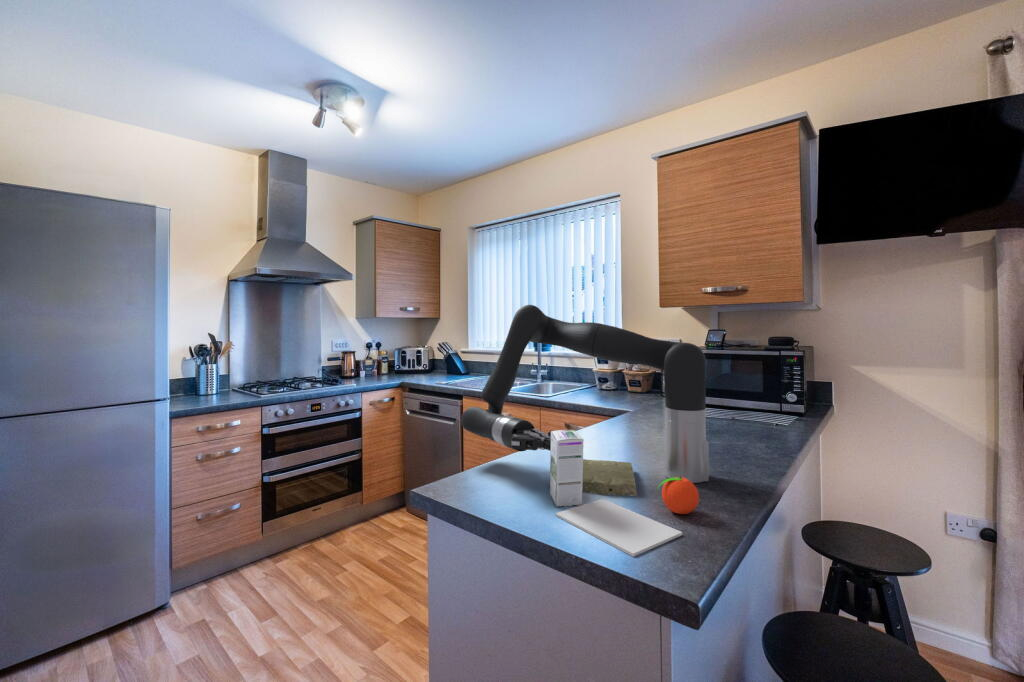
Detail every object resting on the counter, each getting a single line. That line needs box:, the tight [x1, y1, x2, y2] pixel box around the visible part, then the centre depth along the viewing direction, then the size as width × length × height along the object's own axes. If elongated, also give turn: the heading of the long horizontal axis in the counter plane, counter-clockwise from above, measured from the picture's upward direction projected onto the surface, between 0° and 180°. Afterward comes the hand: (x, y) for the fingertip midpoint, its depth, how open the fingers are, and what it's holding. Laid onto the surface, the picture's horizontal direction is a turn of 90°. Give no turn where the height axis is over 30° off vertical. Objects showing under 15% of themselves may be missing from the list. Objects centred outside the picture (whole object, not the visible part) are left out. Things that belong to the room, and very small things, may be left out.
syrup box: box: [549, 429, 584, 507], centre depth 90 cm, size 6×6×14 cm
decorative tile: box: [582, 458, 638, 497], centre depth 104 cm, size 19×20×4 cm
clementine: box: [657, 477, 700, 515], centre depth 85 cm, size 8×7×7 cm
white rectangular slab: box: [554, 498, 683, 558], centre depth 80 cm, size 19×13×1 cm
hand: (558, 447), depth 93 cm, fingers closed
